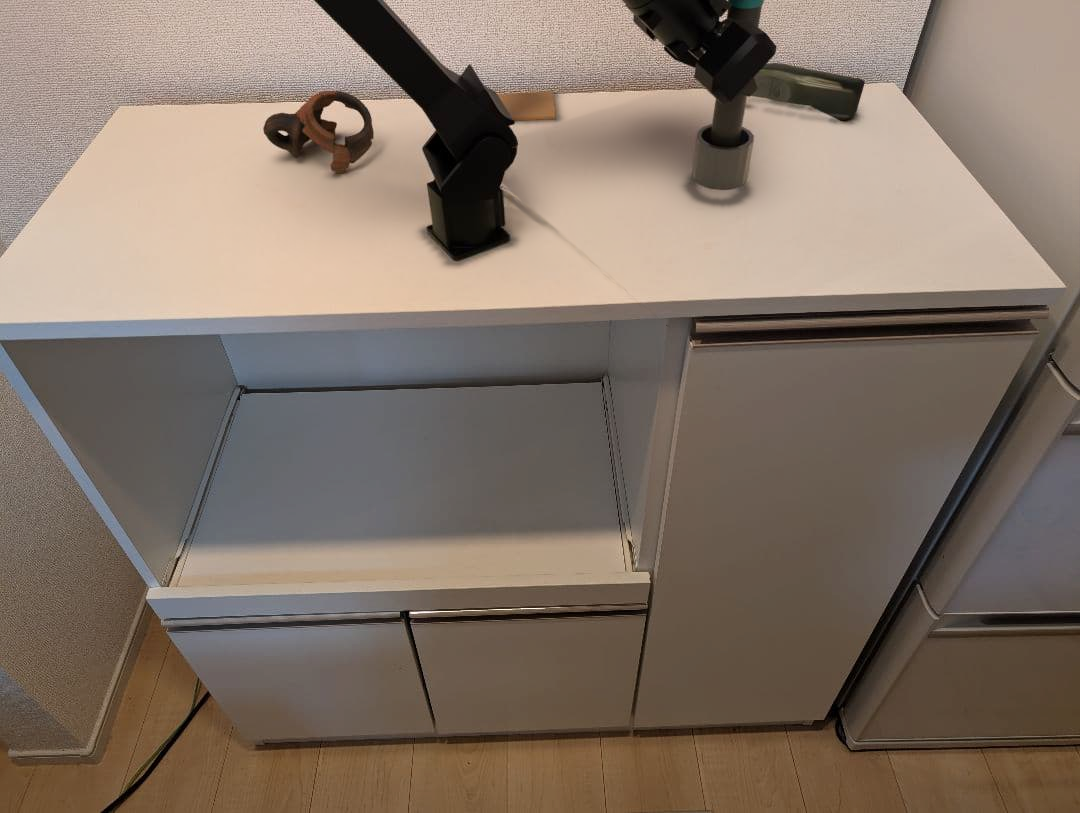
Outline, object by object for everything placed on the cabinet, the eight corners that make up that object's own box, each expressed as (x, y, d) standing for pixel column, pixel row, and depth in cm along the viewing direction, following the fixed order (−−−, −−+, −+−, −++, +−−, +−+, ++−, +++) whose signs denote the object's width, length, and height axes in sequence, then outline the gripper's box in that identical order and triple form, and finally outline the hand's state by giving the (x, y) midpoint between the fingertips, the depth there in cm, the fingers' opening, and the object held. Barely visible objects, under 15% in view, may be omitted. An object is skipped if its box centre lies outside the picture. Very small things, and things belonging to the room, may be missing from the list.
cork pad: (483, 122, 99) (483, 118, 99) (483, 97, 104) (483, 94, 104) (555, 118, 99) (555, 115, 99) (552, 94, 104) (552, 91, 104)
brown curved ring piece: (355, 131, 99) (368, 82, 92) (372, 194, 96) (388, 149, 89) (254, 128, 93) (260, 77, 87) (270, 196, 91) (277, 148, 84)
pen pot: (714, 208, 84) (722, 155, 80) (679, 184, 87) (685, 132, 83) (756, 191, 86) (765, 139, 82) (720, 169, 89) (727, 118, 85)
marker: (723, 151, 81) (747, -7, 71) (702, 138, 83) (722, -17, 72) (746, 142, 82) (773, -14, 72) (726, 130, 84) (749, -24, 74)
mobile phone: (867, 74, 95) (741, 55, 99) (864, 84, 93) (736, 65, 97) (855, 114, 98) (734, 94, 102) (852, 125, 96) (729, 104, 100)
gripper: (776, -74, 60) (865, 54, 70) (673, -129, 72) (761, -14, 82) (669, 48, 64) (768, 152, 74) (589, -24, 76) (683, 73, 86)
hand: (745, 85), depth 79 cm, fingers closed on marker, 3 cm apart
